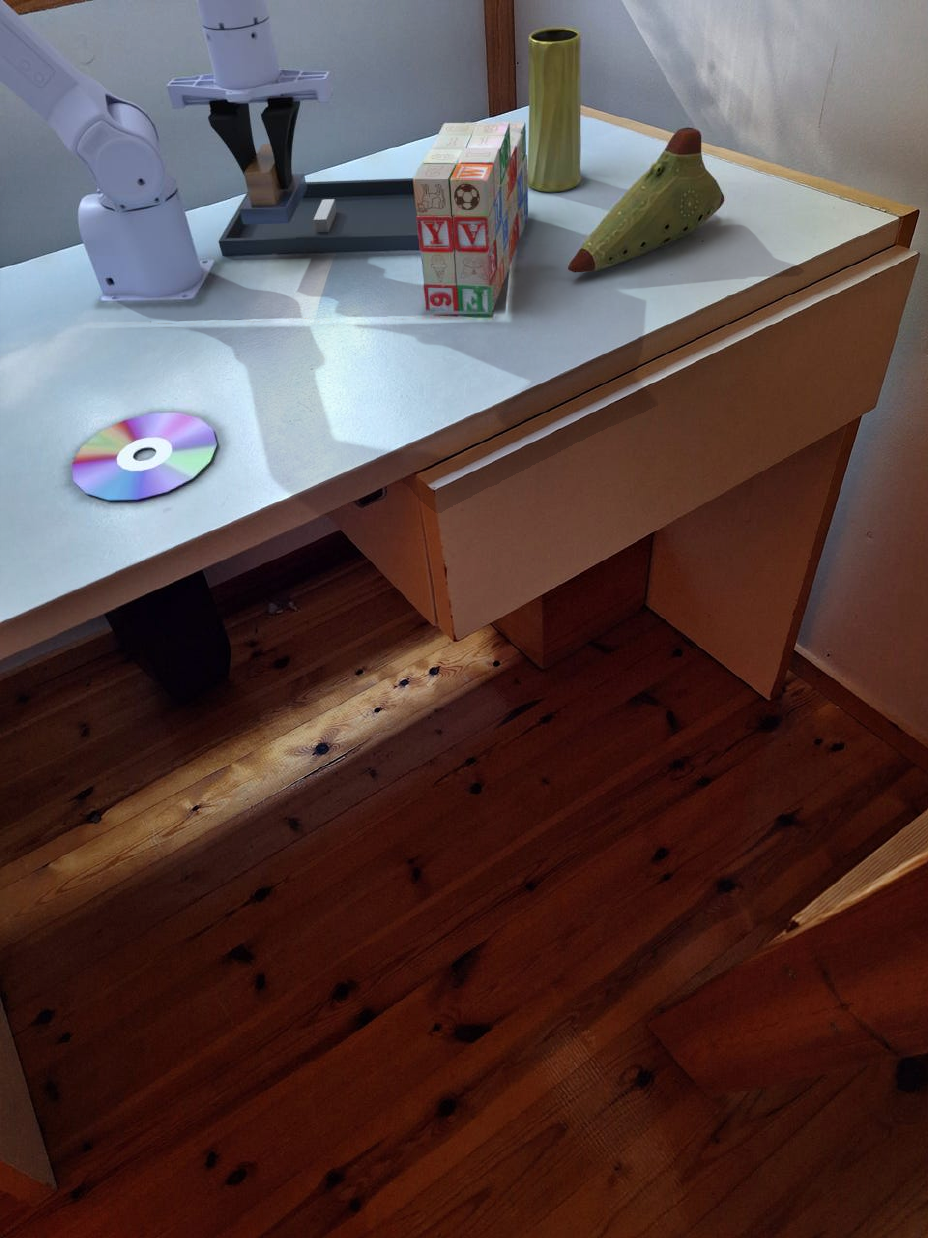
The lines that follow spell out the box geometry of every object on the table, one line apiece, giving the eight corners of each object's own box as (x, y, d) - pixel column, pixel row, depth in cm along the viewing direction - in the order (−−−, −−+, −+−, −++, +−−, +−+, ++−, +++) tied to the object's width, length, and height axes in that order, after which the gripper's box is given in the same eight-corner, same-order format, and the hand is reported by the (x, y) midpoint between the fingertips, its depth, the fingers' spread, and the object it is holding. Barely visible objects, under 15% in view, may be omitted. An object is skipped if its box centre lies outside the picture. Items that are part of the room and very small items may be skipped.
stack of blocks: (471, 215, 96) (463, 86, 87) (529, 216, 95) (527, 86, 86) (425, 316, 82) (411, 175, 73) (493, 318, 81) (486, 176, 72)
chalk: (315, 232, 94) (313, 219, 93) (324, 212, 98) (322, 199, 97) (328, 232, 94) (326, 218, 93) (337, 211, 98) (334, 198, 97)
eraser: (289, 223, 85) (278, 173, 82) (243, 224, 85) (231, 175, 82) (307, 188, 90) (298, 140, 87) (263, 189, 91) (253, 142, 88)
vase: (518, 176, 102) (515, 31, 92) (569, 166, 103) (571, 21, 93) (537, 196, 98) (536, 47, 88) (590, 186, 99) (595, 37, 89)
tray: (223, 261, 93) (218, 240, 91) (256, 202, 102) (251, 183, 101) (427, 255, 90) (425, 234, 89) (441, 196, 100) (439, 176, 99)
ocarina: (586, 293, 83) (590, 181, 76) (549, 273, 86) (549, 163, 79) (739, 226, 90) (756, 117, 83) (700, 210, 93) (713, 104, 86)
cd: (193, 397, 75) (193, 397, 75) (235, 467, 68) (235, 466, 68) (58, 442, 72) (58, 441, 72) (88, 520, 65) (88, 519, 65)
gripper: (138, 38, 75) (185, 204, 85) (308, 29, 73) (336, 200, 83) (165, 14, 79) (207, 174, 89) (326, 5, 78) (350, 170, 88)
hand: (271, 185), depth 86 cm, fingers closed on eraser, 2 cm apart
